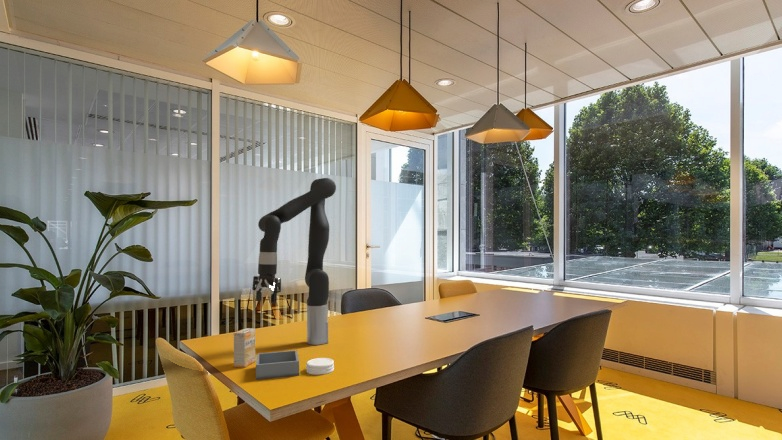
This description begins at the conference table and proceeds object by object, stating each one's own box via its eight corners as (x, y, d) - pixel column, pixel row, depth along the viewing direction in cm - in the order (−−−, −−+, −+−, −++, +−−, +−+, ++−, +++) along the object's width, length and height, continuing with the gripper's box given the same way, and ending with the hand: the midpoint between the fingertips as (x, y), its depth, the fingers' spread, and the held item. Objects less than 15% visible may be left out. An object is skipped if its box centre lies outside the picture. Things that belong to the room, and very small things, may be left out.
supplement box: (245, 368, 162) (244, 333, 162) (233, 367, 163) (233, 332, 163) (256, 361, 170) (255, 328, 171) (244, 361, 171) (244, 327, 171)
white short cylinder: (309, 377, 152) (309, 367, 152) (303, 369, 161) (303, 359, 161) (337, 373, 156) (337, 363, 156) (329, 365, 165) (329, 356, 165)
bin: (296, 363, 167) (296, 350, 167) (299, 375, 153) (299, 361, 153) (257, 366, 163) (257, 353, 164) (255, 379, 149) (255, 365, 149)
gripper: (286, 263, 182) (284, 302, 181) (262, 262, 189) (260, 299, 188) (273, 264, 175) (271, 304, 174) (248, 262, 182) (246, 301, 181)
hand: (265, 302), depth 181 cm, fingers open, 8 cm apart
